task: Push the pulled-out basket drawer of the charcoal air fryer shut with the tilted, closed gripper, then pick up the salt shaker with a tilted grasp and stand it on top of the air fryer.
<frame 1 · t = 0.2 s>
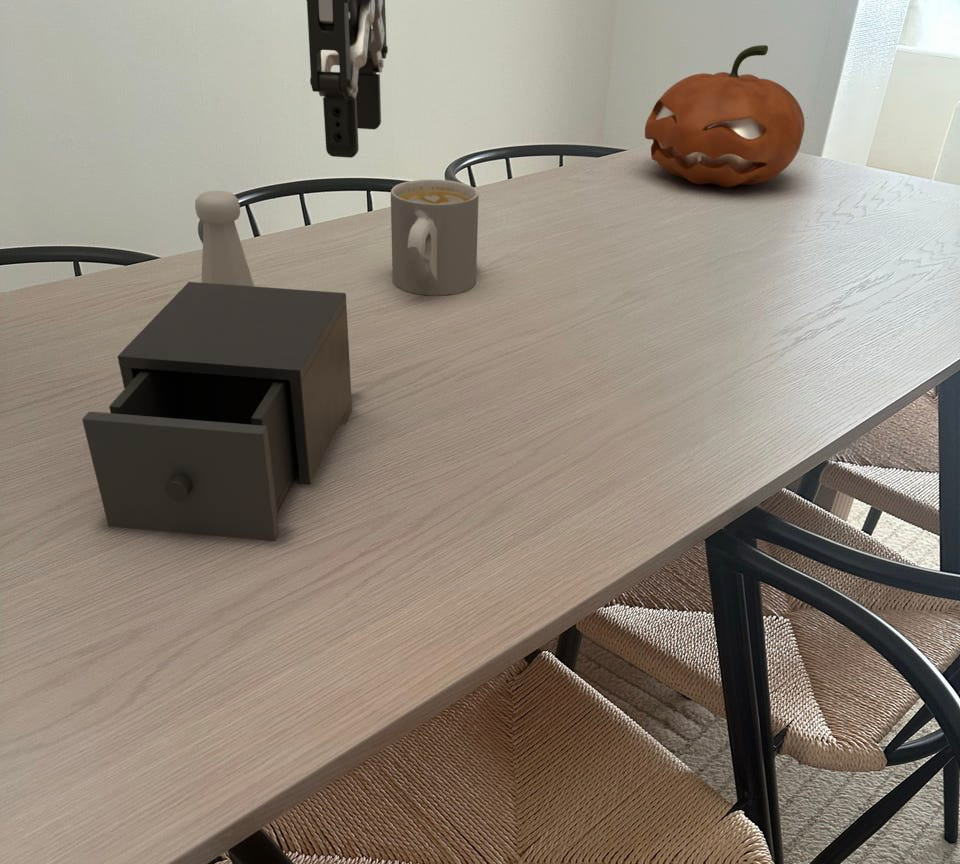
hand: (355, 141, 74), 23 cm above the table, tool pointing down, fingers open, 8 cm apart
salt shaker: (232, 323, 106), on the table
air fryer basket: (211, 438, 75), point 5 cm above the table, slide at 7.0 cm
air fryer: (255, 443, 86), on the table
pumpkin: (715, 179, 157), on the table
coffee mug: (427, 286, 117), on the table
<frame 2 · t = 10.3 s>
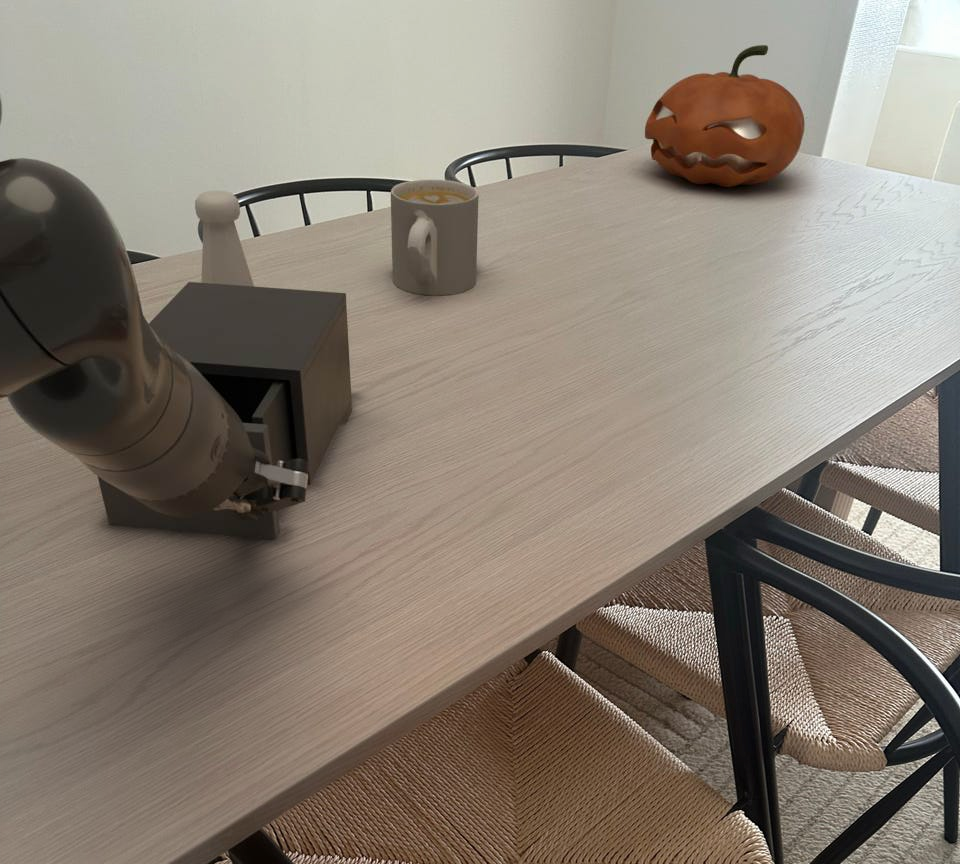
hand: (249, 506, 70), 4 cm above the table, tool tilted 45°, fingers closed
air fryer basket: (212, 437, 75), point 5 cm above the table, slide at 6.8 cm, touching gripper
everything else where it was.
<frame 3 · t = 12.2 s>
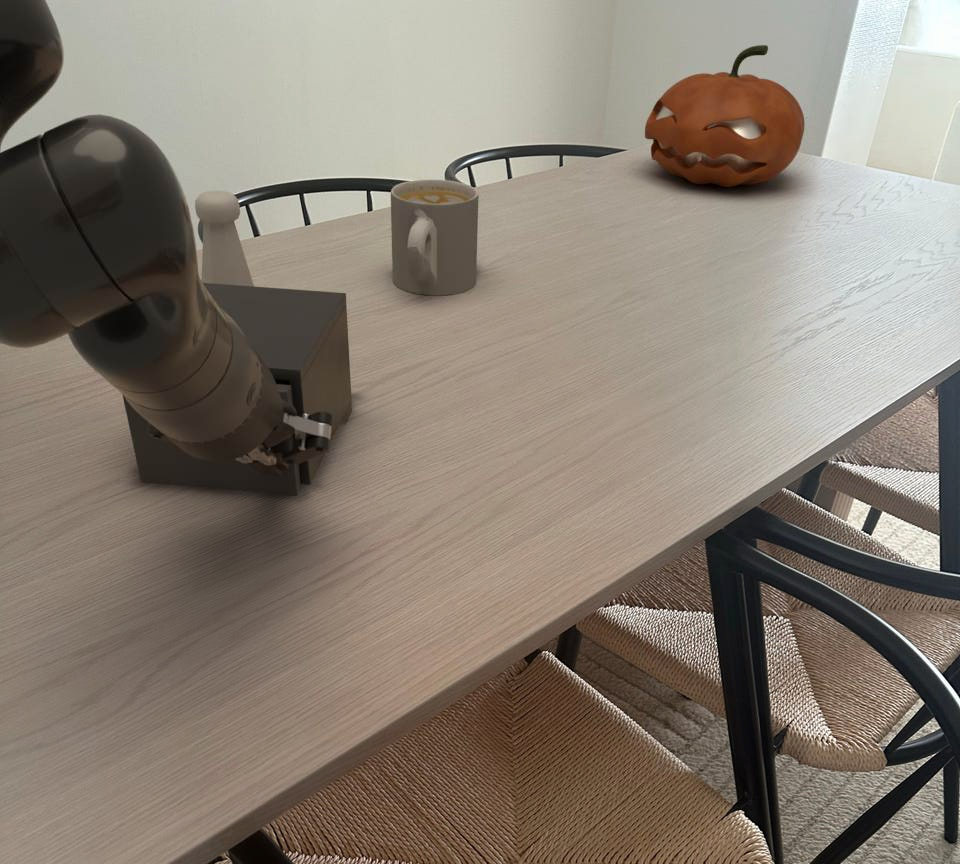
hand: (273, 462, 75), 4 cm above the table, tool tilted 45°, fingers closed
air fryer basket: (237, 401, 80), point 5 cm above the table, slide at 0.5 cm, touching gripper
everything else where it was.
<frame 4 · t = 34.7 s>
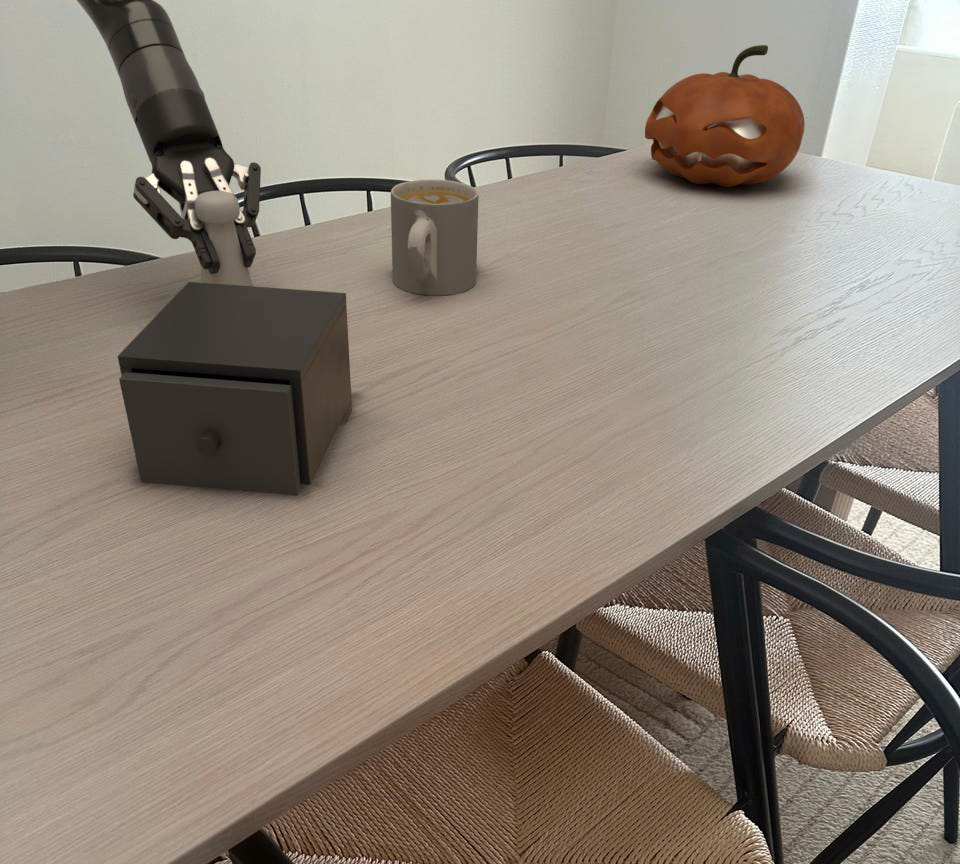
hand: (231, 266, 101), 6 cm above the table, tool tilted 45°, fingers closed on salt shaker, 3 cm apart
salt shaker: (232, 323, 106), on the table, touching gripper
air fryer basket: (237, 401, 80), point 5 cm above the table, slide at 0.5 cm
everything else where it was.
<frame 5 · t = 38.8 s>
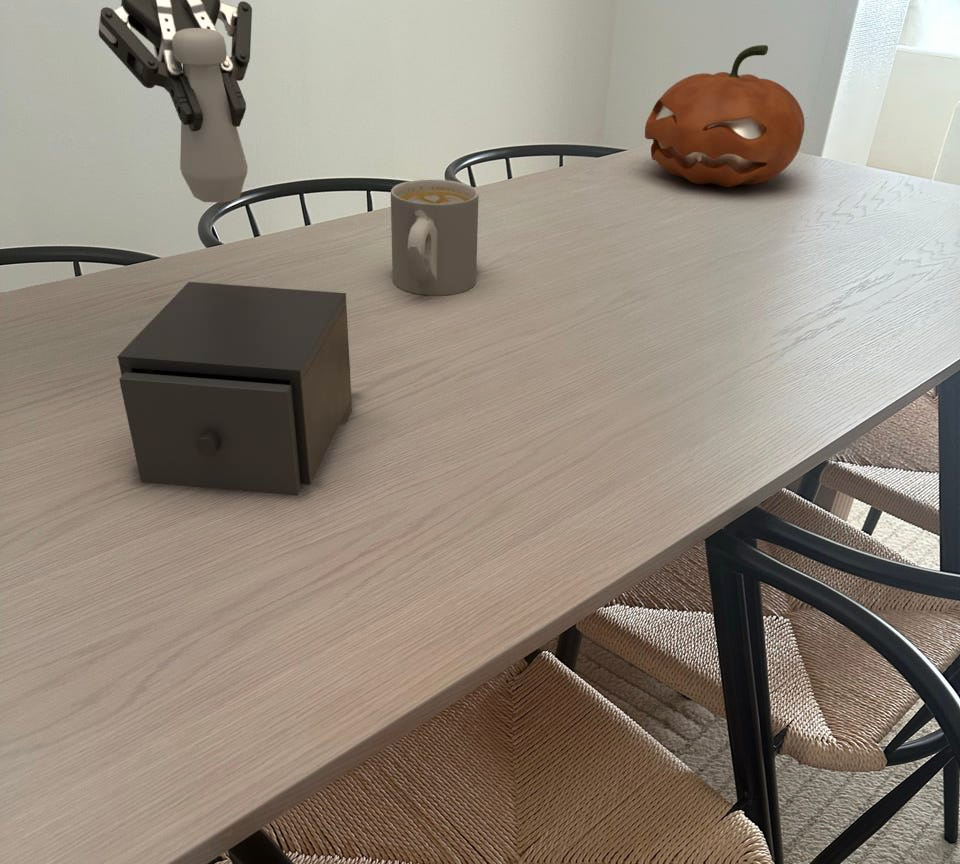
hand: (217, 122, 84), 22 cm above the table, tool tilted 45°, fingers closed on salt shaker, 3 cm apart
salt shaker: (218, 198, 90), point 15 cm above the table, touching gripper
everything else where it was.
when the fingers open (17 cm above the table, at t = 42.7 s): salt shaker stays where it is, resting on air fryer.
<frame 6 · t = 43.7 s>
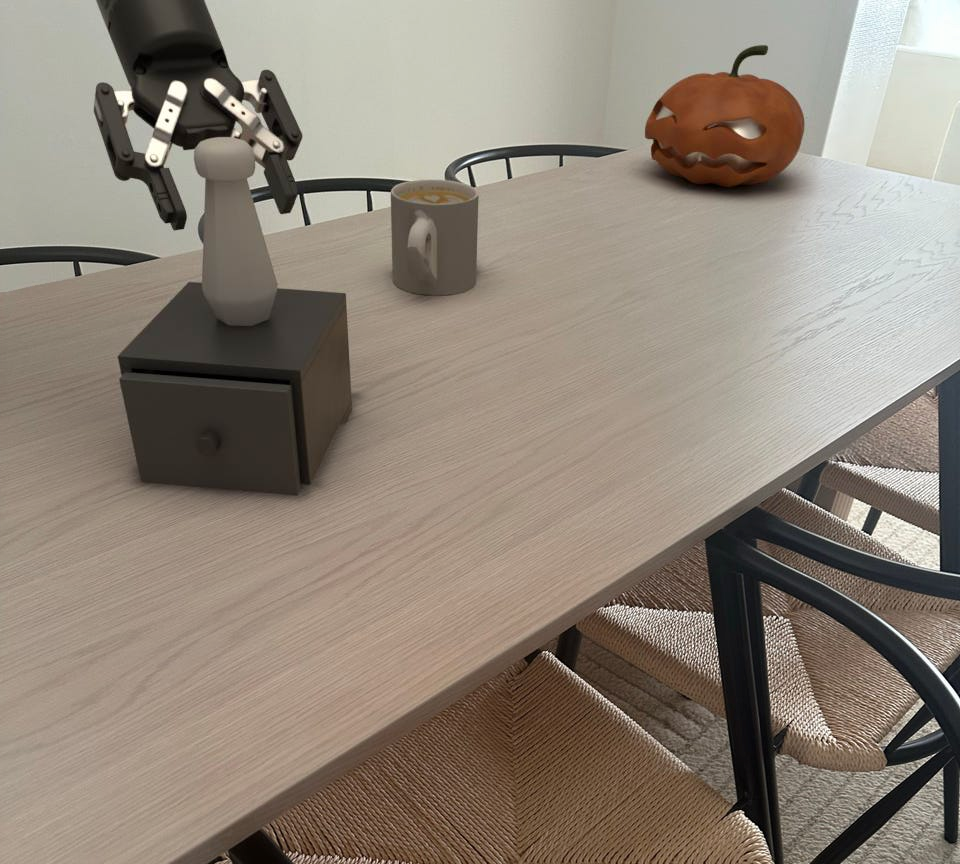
hand: (235, 216, 74), 19 cm above the table, tool tilted 45°, fingers open, 8 cm apart
salt shaker: (244, 318, 80), point 11 cm above the table, touching air fryer
everything else where it was.
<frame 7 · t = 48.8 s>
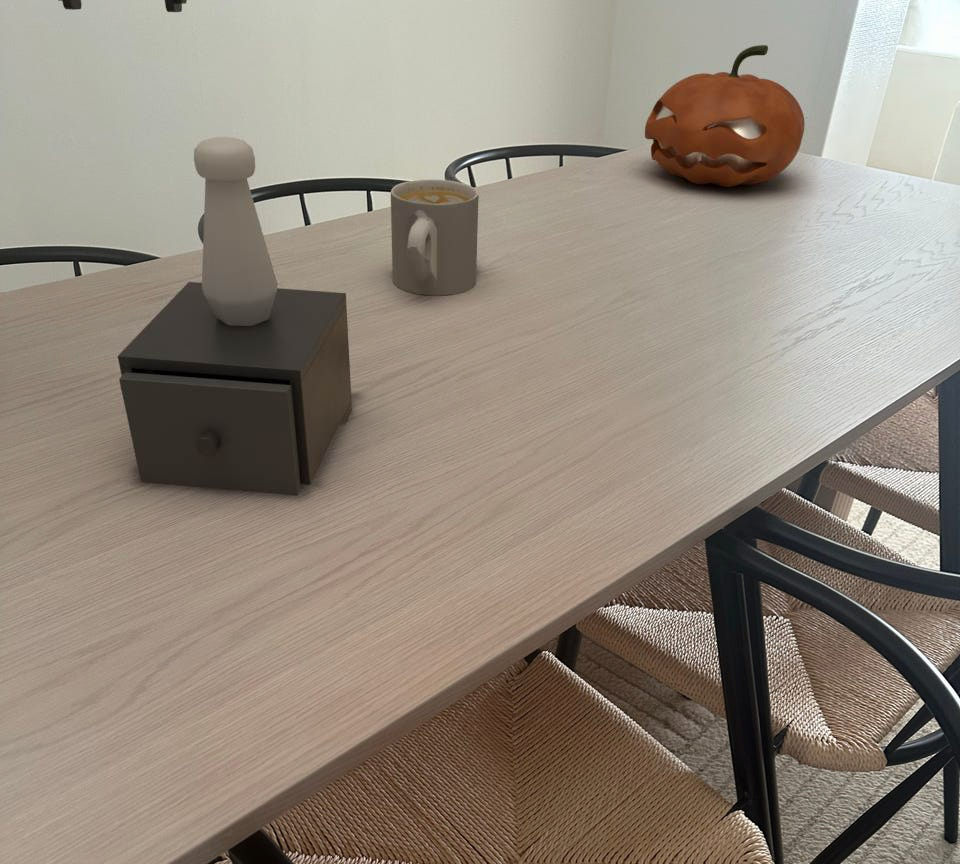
hand: (123, 10, 82), 29 cm above the table, tool pointing down, fingers open, 8 cm apart
nothing on the table moved.
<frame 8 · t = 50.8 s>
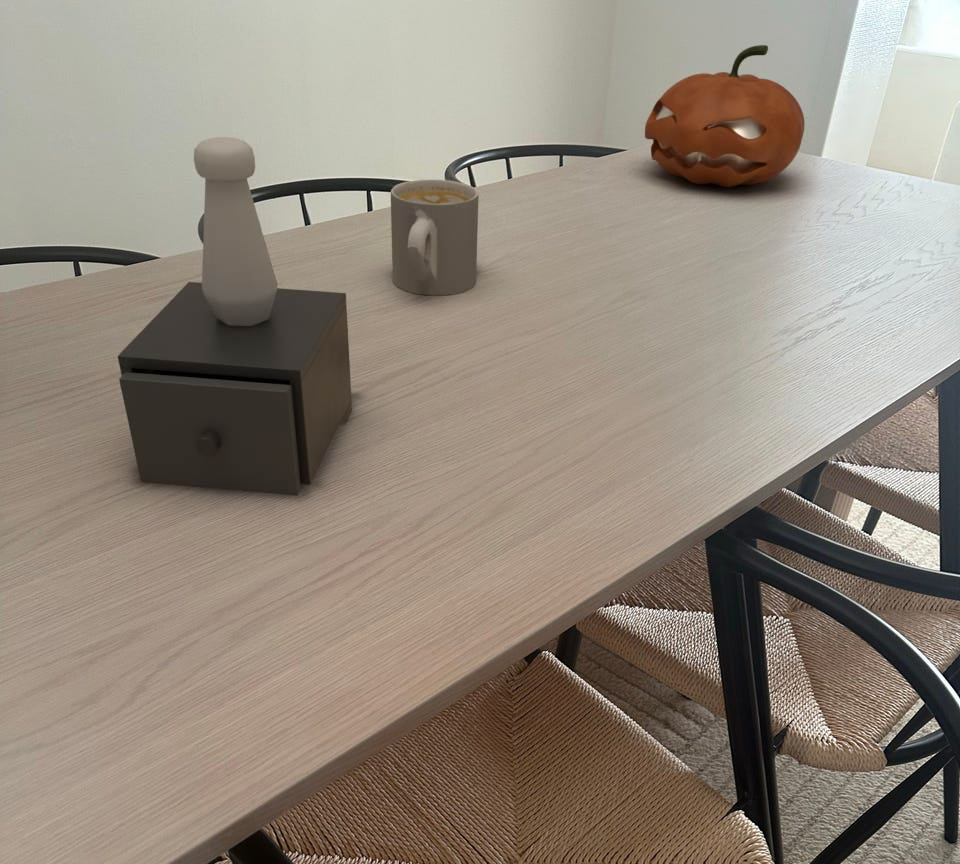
nothing on the table moved.
at the end: air fryer basket slide at 0.5 cm; salt shaker inside the target area on the air fryer (1.2 cm from its centre), point 10.6 cm above the air fryer's base; salt shaker tilted 0° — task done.
